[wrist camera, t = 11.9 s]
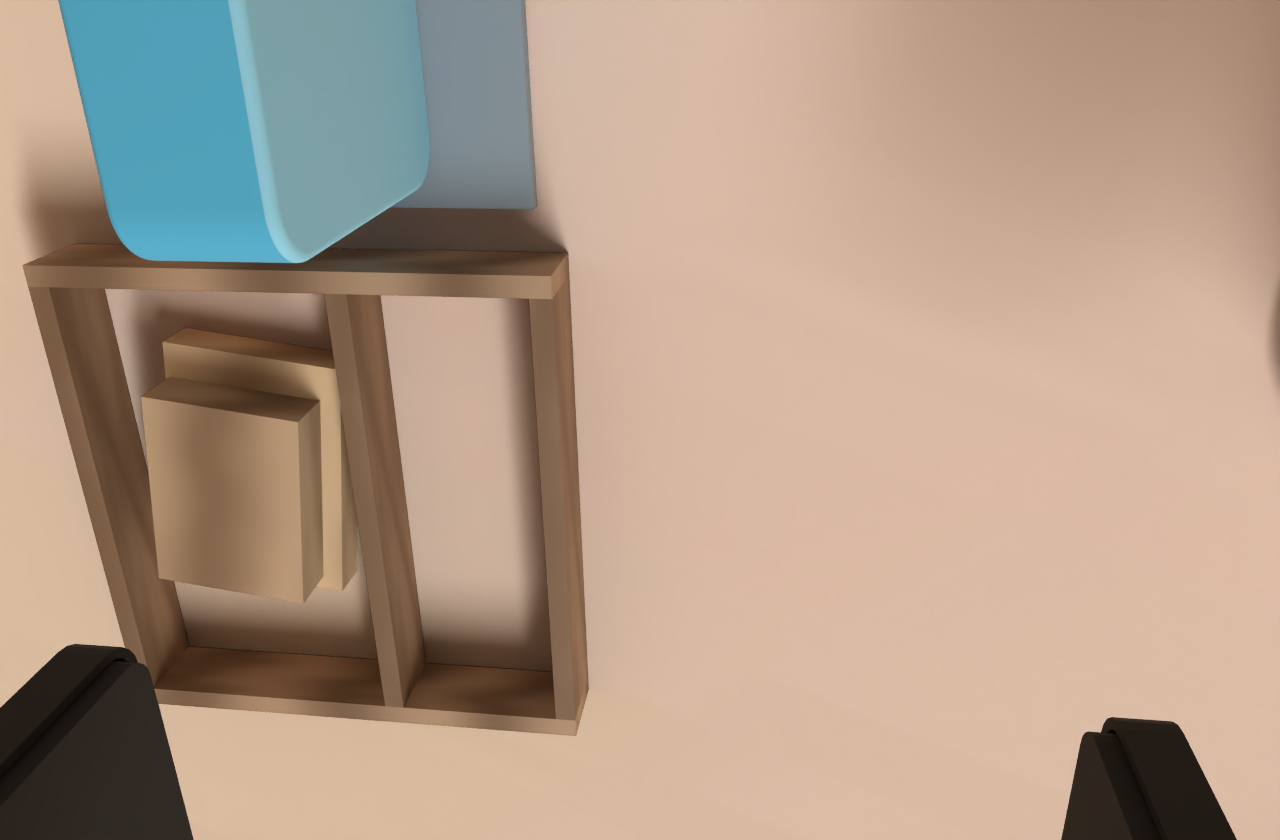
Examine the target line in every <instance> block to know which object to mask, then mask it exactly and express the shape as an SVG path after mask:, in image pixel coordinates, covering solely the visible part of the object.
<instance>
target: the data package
mask: <svg viewBox="0 0 1280 840" xmlns="http://www.w3.org/2000/svg"><path fill="white" fill-rule="evenodd" d="M58 1H59V5H60V9H61V14H62V18H63V22H64V27H65V31H66V35H67V40H68V44H69V48H70V53H71V57H72V61H73V66H74V70H75V74H76V78H77V83H78V87H79V91H80V96H81V100H82V104H83V109H84V113H85V117H86V122H87V126H88V130H89V135H90V139H91V143H92V148H93V152H94V156H95V161H96V165H97V169H98V174H99V178H100V182H101V186H102V191H103V195H104V199H105V204H106V208H107V212H108V215H109V218H110V221H111V224H112V226H113V228H114V230H115V232H116V234H117V236H118V237H119V239H120V240H121V241H122V243H123V244H124V245H125V246H126V247H127V248H128V249H129V250H130V251H131V252H132V253H134V254H135V255H137V256H139V257H141V258H143V259H146V260H153V261H203V262H261V263H301V262H305V261H307V260H309V259H311V258H312V257H314V256H315V255H317V254H318V253H320V252H321V251H323V250H325V249H326V248H328V247H329V246H331V245H332V244H334V243H335V242H337V241H339V240H340V239H342V238H343V237H345V236H346V235H348V234H349V233H351V232H352V231H354V230H356V229H357V228H359V227H360V226H362V225H363V224H365V223H366V222H368V221H370V220H371V219H373V218H374V217H376V216H377V215H379V214H380V213H382V212H383V211H385V210H387V209H388V208H390V207H391V206H393V205H394V204H396V203H397V202H399V201H401V200H402V199H404V198H405V197H407V196H408V195H410V194H411V193H413V192H414V191H416V190H417V189H418V188H420V186H421V185H422V183H423V181H424V179H425V176H426V173H427V169H428V163H429V130H428V120H427V110H426V100H425V90H424V80H423V71H422V61H421V51H420V41H419V31H418V21H417V11H416V1H415V0H58Z"/></svg>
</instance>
